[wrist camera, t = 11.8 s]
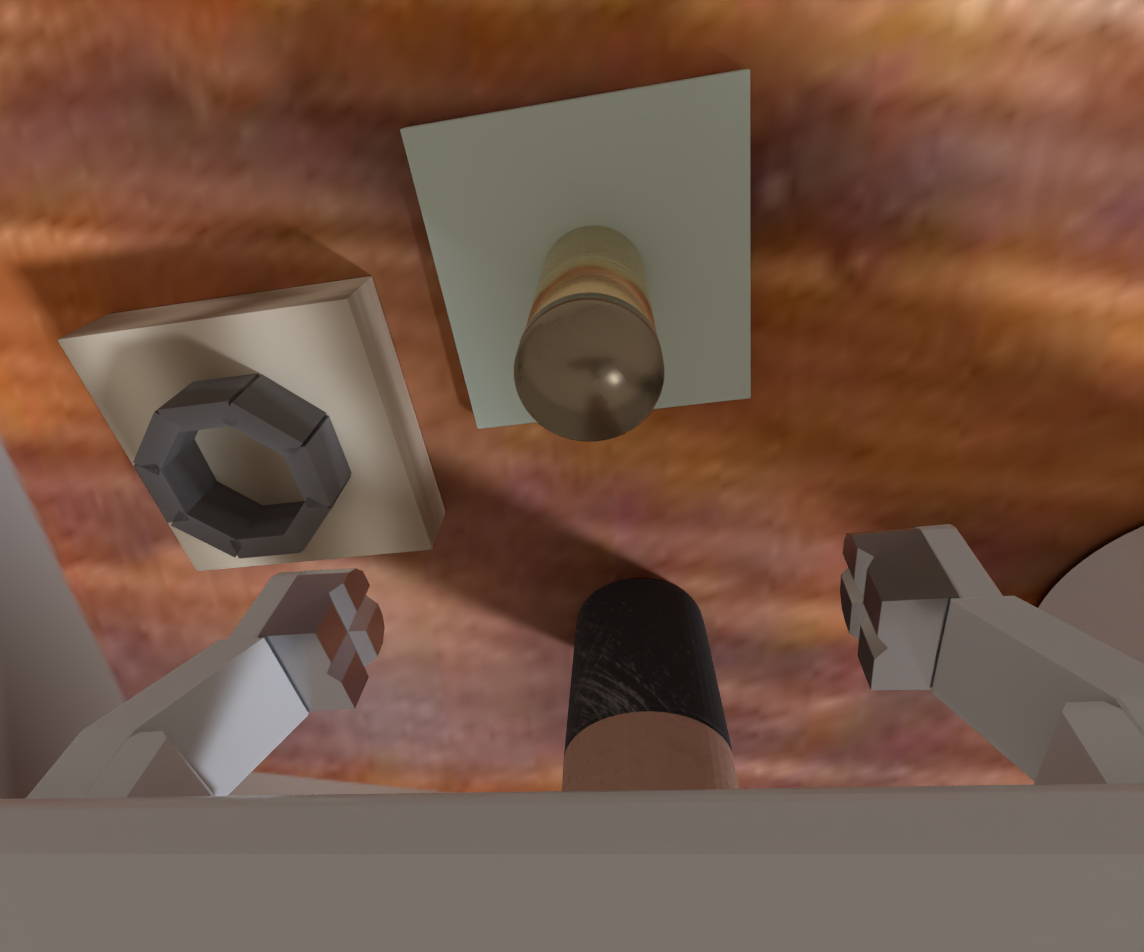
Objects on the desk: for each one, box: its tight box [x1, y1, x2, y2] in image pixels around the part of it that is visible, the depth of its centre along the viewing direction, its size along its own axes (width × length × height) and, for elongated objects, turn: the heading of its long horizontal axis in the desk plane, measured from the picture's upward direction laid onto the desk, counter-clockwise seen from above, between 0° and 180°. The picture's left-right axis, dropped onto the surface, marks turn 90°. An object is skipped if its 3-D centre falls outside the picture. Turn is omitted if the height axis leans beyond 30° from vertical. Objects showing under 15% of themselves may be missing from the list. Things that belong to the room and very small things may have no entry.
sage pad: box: [400, 69, 751, 429], centre depth 25 cm, size 12×12×1 cm
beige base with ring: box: [58, 276, 446, 571], centre depth 28 cm, size 12×12×6 cm
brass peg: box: [514, 226, 664, 441], centre depth 21 cm, size 4×4×9 cm
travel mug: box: [562, 578, 739, 791], centre depth 28 cm, size 8×8×20 cm
